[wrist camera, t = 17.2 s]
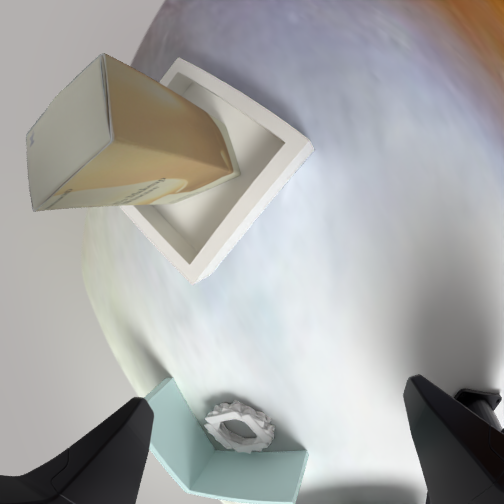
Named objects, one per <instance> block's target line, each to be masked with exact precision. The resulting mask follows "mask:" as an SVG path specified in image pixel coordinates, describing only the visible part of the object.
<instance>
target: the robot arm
mask: <svg viewBox="0 0 504 504" xmlns="http://www.w3.org/2000/svg"><path fill="white" fill-rule="evenodd" d="M462 394H463V395H462ZM403 397H404V402H405V407H406V411H407V416H408V420H409V425H410V430H411V435H412V438H413V441H414V445H415V448H416V451H417V454H418V457H419V461H420V464H421V468H422V471H423V475H424V478H425V482H426V486H427V490H428V491H427V498H426V504H504V429H502V427H501V425H500V423H499V421H498V419H497V417H496V415H495V413H494V410H495V408H496V407H497V406H498V404H499V403H500V401H501V400H502V397H501V396H500V395H498V394H492V393H485V392H479V391H474V390H468V389H462V390H460V391H459V392H458V393H457V395H456V396H455V398H452V397H451V396H450V395H448V394H447V393H445V392H444V391H443V390H441V389H440V388H438V387H437V386H436V385H434V384H433V383H431V382H430V381H429V380H427V379H426V378H424V377H423V376H422V375H415V376H411V377H409V378H408V380H407V383H406V387H405V390H404V394H403ZM153 421H154V412H153V410H152V408H151V407H150V405H149V404H148V402H147V400H146V399H145V398H141V397H134V398H132V399H131V400H130V401H128V402H127V403H126V404H125V405H123V406H122V407H121V408H120V409H118V410H117V411H116V412H115V413H114V414H112V415H111V416H110V417H108V418H107V419H106V420H104V421H103V422H102V423H101V424H99V425H98V426H97V427H96V428H94V429H93V430H91V431H90V432H89V433H88V434H86V435H85V436H84V437H82V438H81V439H80V440H78V441H77V442H76V443H74V444H73V445H72V446H71V447H70V448H67V449H66V450H65V451H63V452H62V453H61V454H59V455H58V456H56V457H55V458H53V459H52V460H50V461H48V462H47V463H45V464H43V465H41V466H40V467H38V468H36V469H34V470H32V471H30V472H28V473H26V474H24V475H21V476H3V475H0V504H135V503H136V499H137V495H138V490H139V487H140V483H141V478H142V475H143V471H144V467H145V463H146V459H147V456H148V452H149V447H150V440H151V434H152V427H153Z"/></svg>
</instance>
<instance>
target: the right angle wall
mask: <svg viewBox="0 0 504 504" xmlns="http://www.w3.org/2000/svg"><path fill="white" fill-rule="evenodd" d="M144 398H145V399H146V400H147V402H148V404H149V405H150V407H151V408H152V410H153V412H154V421H153V427H152V434H151V440H150V447H149V449H150V451H151V452H152V453H153V454H154V456H155V457H156V458H157V460H158V461H159V462H160V463H161V465H162V466H163V467H164V468H165V470H166V471H167V472H168V473H169V474H170V476H171V477H172V478H173V479H174V480H175V481H176V483H177V484H178V485H179V486H180V487H181V488H182V489H183V490H184V491H185V492H186V493H190V494H194V495H198V496H204V497H209V498H214V499H219V500H226V501H233V502H240V503H249V504H295V502H296V499H297V496H298V493H299V489H300V486H301V482H302V479H303V475H304V471H305V468H306V464H307V460H308V456H309V454H308V452H307V450H300V451H282V452H261V450H262V448H267V447H268V445H270V444H271V442H272V439H274V438H275V437H274V433H273V432H274V431H275V426H274V425H271V424H269V423H270V422H271V420H272V419H271V418H270V417H268V416H266V415H264V413H263V412H258V411H256V410H254V409H252V408H251V407H249V406H246V405H244V404H242V403H240V402H238V401H234V402H233V403H232V404H231V405H230V404H227V403H225V402H224V403H221V404H220V406H218V405H215V406H214V411H211V412H209V413H208V414H207V416H208V417H205V420H206V421H207V424H205V425H204V426H205V427H206V428H207V430H208V433H209V434H212V435H213V436H214V437H215V440H216V441H217V442H220V443H221V444H222V445H223V446H224V447H225V448H226V449H231V448H233V449H234V450H235V451H220V450H215V448H214V447H213V445H212V444H211V442H210V441H209V439H208V437H207V436H206V434H205V433H204V431H203V429H202V428H201V426H200V424H199V423H198V421H197V420H196V418H195V416H194V414H193V413H192V411H191V409H190V408H189V406H188V404H187V402H186V400H185V399H184V397H183V395H182V393H181V391H180V390H179V388H178V386H177V384H176V382H175V380H174V378H165V379H164V380H163V381H162V382H161V383H160V384H159V385H158V386H157V387H155V388H154V389H153V390H152V391H151V392H150V393H149V394H148V395H147V396H146V397H144ZM232 419H237V420H239V421H242V422H245V423H246V424H247V425H248V426H249V427H250V428H251V429H252V431H253V432H254V433H255V434H256V435H257V437H256V438H243V437H241V436H239V435H237V434H235V433H233V432H231V431H229V430H227V428H226V426H225V424H224V423H223V421H227V420H232ZM252 450H254V451H258V452H252Z"/></svg>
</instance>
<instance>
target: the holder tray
mask: <svg viewBox="0 0 504 504" xmlns="http://www.w3.org/2000/svg"><path fill="white" fill-rule="evenodd" d="M159 83H160V84H162V85H164V86H166V87H167V88H169V89H170V90H172V91H174V92H176V93H177V94H179V95H180V96H182V97H184V98H185V99H187V100H188V101H190V102H191V103H193V104H195V105H196V106H198V107H199V108H201V109H203V110H204V111H206V112H207V113H209V114H210V115H212V116H213V117H215V118H216V119H218V120H219V121H221V122H222V123H224V124H225V126H226V128H227V131H228V134H229V137H230V140H231V143H232V146H233V149H234V152H235V155H236V158H237V162H238V165H239V168H240V172H241V175H240V176H238V177H236V178H233V179H231V180H229V181H227V182H224V183H222V184H220V185H218V186H215V187H213V188H211V189H209V190H207V191H204V192H202V193H199V194H197V195H195V196H192V197H190V198H187V199H185V200H182V201H180V202H177V203H174V204H155V205H122V206H119V207H120V208H121V209H122V210H123V211H124V212H125V213H126V215H127V216H128V217H129V218H130V219H131V220H132V221H133V223H134V224H135V225H136V226H137V227H138V228H139V229H140V230H141V231H142V233H143V234H144V235H145V236H146V237H147V238H148V239H149V240H150V241H151V242H152V244H153V245H154V246H155V247H156V248H157V249H158V250H159V251H160V252H161V253H162V254H163V255H164V256H165V257H166V258H167V260H168V261H169V262H170V263H171V264H172V265H173V266H174V267H175V268H176V269H177V270H178V271H179V272H180V273H181V274H182V275H183V276H184V277H185V278H186V279H187V280H188V281H189V282H190V283H191V284H192V285H194V284H196V283H197V282H199V281H201V280H203V279H205V278H207V277H208V276H210V275H212V274H213V272H214V271H215V270H216V269H217V267H218V266H219V265H220V264H221V262H222V261H223V260H224V259H225V257H226V256H227V255H228V254H229V253H230V251H231V250H232V249H233V248H234V246H235V245H236V244H237V243H238V241H239V240H240V239H241V238H242V237H243V235H244V234H245V233H246V232H247V230H248V229H249V228H250V227H251V226H252V224H253V223H254V222H255V221H256V219H257V218H258V217H259V216H260V215H261V213H262V212H263V211H264V210H265V209H266V207H267V206H268V205H269V204H270V202H271V201H272V200H273V199H274V198H275V196H276V195H277V194H278V193H279V192H280V190H281V189H282V188H283V187H284V186H285V184H286V183H287V182H288V181H289V180H290V178H291V177H292V176H293V175H294V174H295V173H296V171H297V170H298V169H299V168H300V167H301V165H302V164H303V163H304V162H305V161H306V159H307V158H308V157H309V156H310V155H311V154H312V152H313V151H314V148H313V146H312V144H311V141H310V140H309V139H308V138H306V137H305V136H304V135H303V134H301V133H300V132H299V131H297V130H296V129H295V128H293V127H292V126H290V125H289V124H288V123H286V122H285V121H283V120H282V119H281V118H279V117H278V116H276V115H275V114H274V113H272V112H271V111H269V110H268V109H266V108H265V107H263V106H262V105H260V104H259V103H257V102H256V101H254V100H253V99H251V98H249V97H248V96H246V95H245V94H243V93H242V92H240V91H238V90H237V89H235V88H233V87H232V86H230V85H228V84H227V83H225V82H223V81H222V80H220V79H218V78H216V77H215V76H213V75H211V74H209V73H208V72H206V71H204V70H202V69H200V68H198V67H197V66H195V65H193V64H191V63H189V62H187V61H185V60H183V59H181V58H179V57H178V58H177V59H176V61H175V62H174V63H173V64H172V66H171V67H170V68H169V70H168V71H167V72H166V74H165V75H164V76H163V78H162V79H161V80H160V82H159Z"/></svg>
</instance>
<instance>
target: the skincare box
mask: <svg viewBox="0 0 504 504" xmlns="http://www.w3.org/2000/svg"><path fill="white" fill-rule="evenodd" d="M26 145H27V167H28V179H29V189H30V196H31V202H32V209H33V211H34V212H36V211H44V210H55V209H68V208H81V207H100V206H122V205H155V204H174V203H177V202H180V201H182V200H185V199H187V198H190V197H192V196H195V195H197V194H199V193H202V192H204V191H207V190H209V189H211V188H213V187H215V186H218V185H220V184H222V183H224V182H227V181H229V180H231V179H233V178H236V177H238V176H240V175H241V172H240V168H239V165H238V162H237V158H236V155H235V152H234V149H233V146H232V143H231V140H230V137H229V134H228V131H227V128H226V126H225V124H224V123H222V122H221V121H219V120H218V119H216V118H215V117H213V116H212V115H210V114H209V113H207V112H206V111H204V110H203V109H201V108H199V107H198V106H196V105H195V104H193V103H191V102H190V101H188V100H187V99H185V98H184V97H182V96H180V95H179V94H177V93H176V92H174V91H172V90H170V89H169V88H167V87H166V86H164V85H162V84H160V83H159V82H157V81H155V80H154V79H152V78H150V77H148V76H146V75H145V74H143V73H141V72H139V71H137V70H136V69H134V68H132V67H130V66H128V65H126V64H124V63H123V62H121V61H119V60H117V59H115V58H113V57H111V56H109V55H107V54H105V53H103V54H100V55H99V56H98V57H97V58H96V59H95V60H94V61H93V62H91V63H90V64H89V65H88V66H87V67H86V68H85V69H84V70H83V71H82V72H81V73H80V74H79V75H78V76H76V77H75V79H74V80H73V81H72V82H71V83H70V84H69V85H68V86H66V87H65V88H64V89H63V90H62V91H61V92H60V93H59V94H58V95H57V96H56V97H55V98H54V100H53V101H52V102H51V103H50V105H49V106H48V108H47V109H46V110H45V112H44V113H43V114H42V115H41V116H40V118H39V119H38V120H37V121H36V123H35V124H34V125H33V127H32V128H31V129H30V130H29V132H28V133H27V135H26Z"/></svg>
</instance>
